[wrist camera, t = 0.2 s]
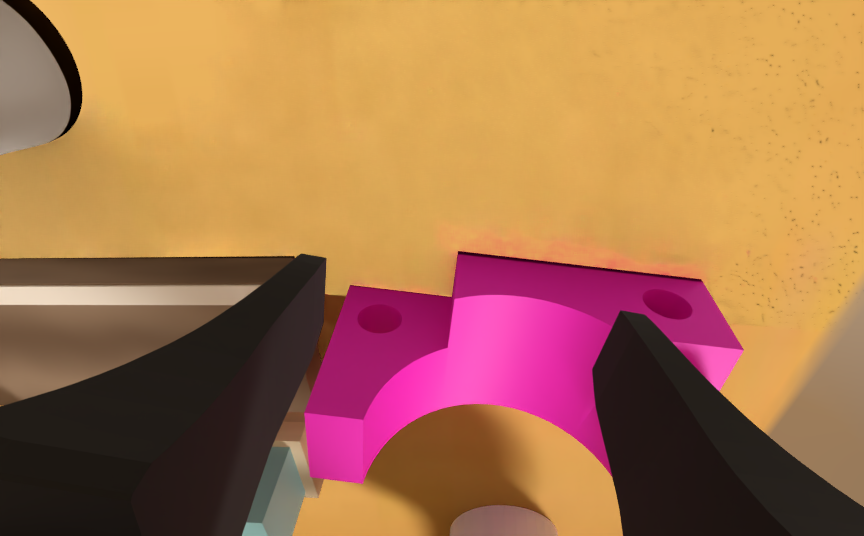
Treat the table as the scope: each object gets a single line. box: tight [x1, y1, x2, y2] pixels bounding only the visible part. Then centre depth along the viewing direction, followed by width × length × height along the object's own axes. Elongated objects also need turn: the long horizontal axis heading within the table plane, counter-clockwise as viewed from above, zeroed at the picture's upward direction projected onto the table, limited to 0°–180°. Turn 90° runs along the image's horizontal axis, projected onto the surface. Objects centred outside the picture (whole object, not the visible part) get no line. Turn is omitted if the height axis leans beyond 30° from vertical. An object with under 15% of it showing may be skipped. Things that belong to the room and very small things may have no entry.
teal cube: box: [242, 447, 305, 536], centre depth 26 cm, size 4×4×4 cm
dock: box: [0, 256, 322, 412], centre depth 25 cm, size 8×20×2 cm, turn 94°
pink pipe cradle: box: [304, 251, 744, 484], centre depth 21 cm, size 15×6×8 cm, turn 85°
